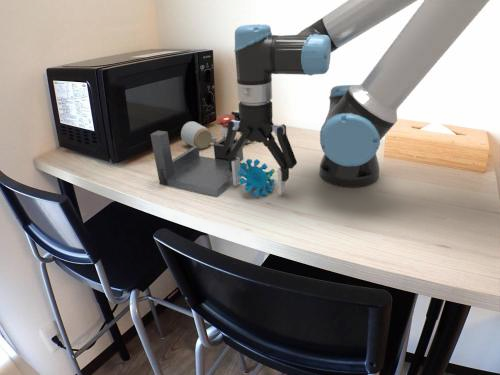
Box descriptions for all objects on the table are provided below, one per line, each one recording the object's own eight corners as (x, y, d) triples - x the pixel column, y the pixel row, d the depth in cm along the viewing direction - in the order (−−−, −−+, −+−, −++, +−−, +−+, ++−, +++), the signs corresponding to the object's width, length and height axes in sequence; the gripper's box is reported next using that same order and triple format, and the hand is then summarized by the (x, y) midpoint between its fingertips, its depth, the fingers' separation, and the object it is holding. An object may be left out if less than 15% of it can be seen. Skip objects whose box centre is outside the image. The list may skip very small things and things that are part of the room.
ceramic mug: (195, 153, 116) (193, 129, 113) (181, 146, 122) (178, 124, 118) (222, 144, 122) (220, 121, 119) (208, 138, 128) (206, 116, 124)
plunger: (239, 145, 108) (237, 115, 103) (231, 151, 104) (228, 120, 99) (225, 143, 110) (222, 113, 105) (216, 149, 106) (213, 118, 102)
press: (258, 161, 108) (256, 115, 101) (217, 197, 90) (211, 143, 84) (206, 153, 115) (201, 109, 109) (159, 184, 98) (150, 134, 92)
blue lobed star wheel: (250, 198, 86) (233, 161, 88) (239, 207, 90) (223, 172, 92) (285, 188, 92) (268, 153, 94) (272, 197, 97) (257, 164, 99)
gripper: (200, 101, 84) (210, 185, 94) (300, 110, 74) (298, 204, 84) (218, 93, 90) (225, 173, 100) (312, 101, 79) (309, 189, 90)
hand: (258, 187), depth 92 cm, fingers open, 12 cm apart
